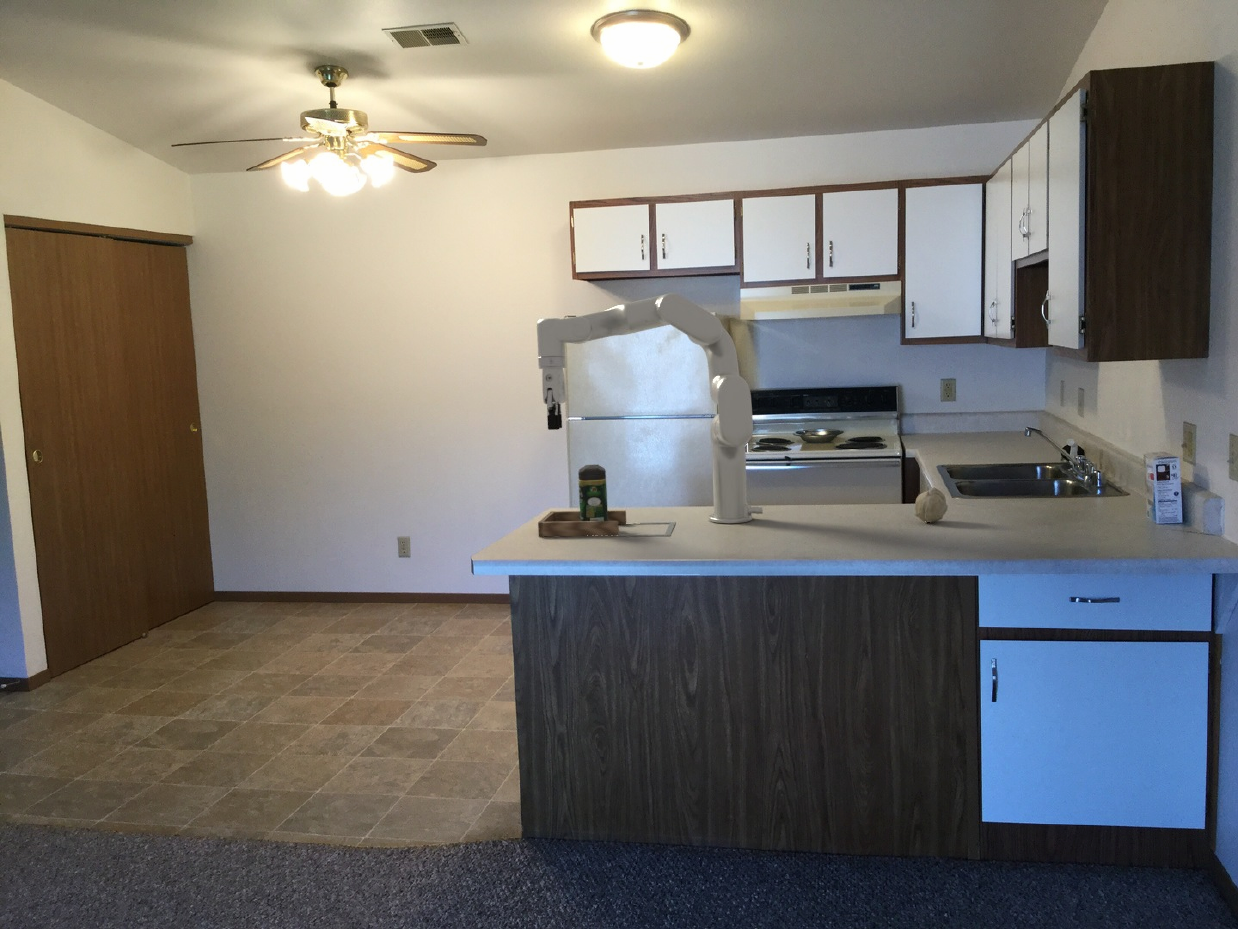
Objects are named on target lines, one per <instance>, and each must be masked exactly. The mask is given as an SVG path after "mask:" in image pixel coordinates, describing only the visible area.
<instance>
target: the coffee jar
mask: <svg viewBox="0 0 1238 929" xmlns="http://www.w3.org/2000/svg"><path fill="white" fill-rule="evenodd" d="M606 471H607V469H605V467H603V466H601V465H600V464H585V465H584V466H583V467H580V468H579V469H578V474H577V476H578V480H577V481H578V502H579V511H580V520H581V521H608V511H609V510H608V490H607V472H606Z"/></svg>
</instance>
